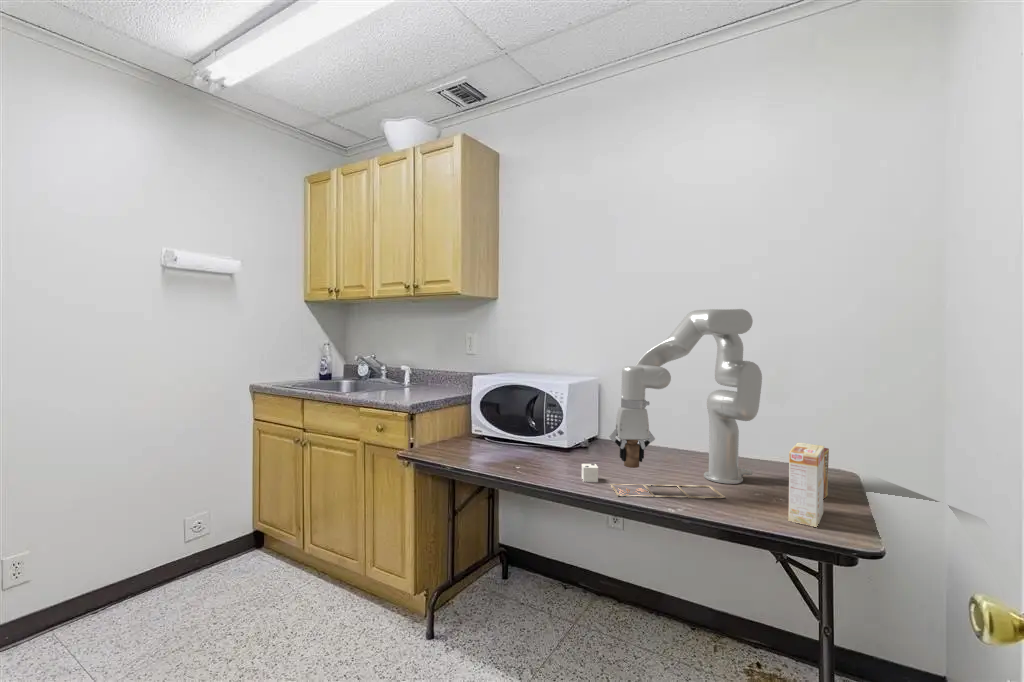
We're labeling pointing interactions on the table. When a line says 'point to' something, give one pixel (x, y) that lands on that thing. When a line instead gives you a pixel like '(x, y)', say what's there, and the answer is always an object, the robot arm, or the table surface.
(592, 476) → the die
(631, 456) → the pawn
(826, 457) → the candy box
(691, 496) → the board
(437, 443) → the table surface
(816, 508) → the coffeecake box
